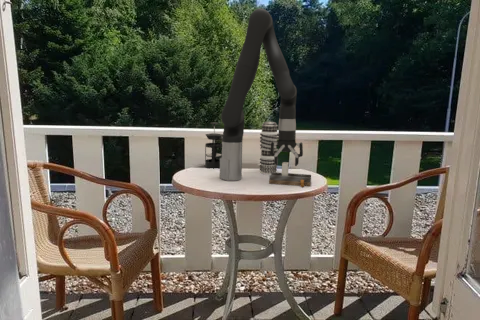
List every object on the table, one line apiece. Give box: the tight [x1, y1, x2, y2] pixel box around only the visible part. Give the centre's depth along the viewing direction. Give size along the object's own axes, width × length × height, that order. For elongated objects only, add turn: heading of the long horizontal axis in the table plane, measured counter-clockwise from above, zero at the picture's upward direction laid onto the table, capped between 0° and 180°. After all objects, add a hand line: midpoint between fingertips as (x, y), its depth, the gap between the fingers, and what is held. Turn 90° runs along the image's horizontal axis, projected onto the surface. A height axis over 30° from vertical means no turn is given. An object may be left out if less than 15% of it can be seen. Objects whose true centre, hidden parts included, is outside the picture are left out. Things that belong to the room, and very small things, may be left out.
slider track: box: [268, 171, 312, 188], centre depth 186 cm, size 18×11×4 cm, turn 79°
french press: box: [204, 122, 223, 170], centre depth 215 cm, size 12×9×23 cm
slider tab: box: [280, 161, 290, 176], centre depth 187 cm, size 5×4×7 cm
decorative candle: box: [259, 121, 279, 176], centre depth 204 cm, size 9×9×25 cm
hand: (286, 165), depth 186 cm, fingers open, 8 cm apart
